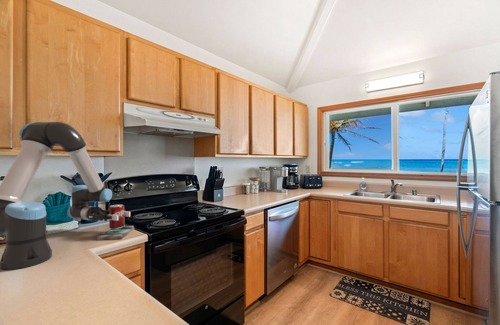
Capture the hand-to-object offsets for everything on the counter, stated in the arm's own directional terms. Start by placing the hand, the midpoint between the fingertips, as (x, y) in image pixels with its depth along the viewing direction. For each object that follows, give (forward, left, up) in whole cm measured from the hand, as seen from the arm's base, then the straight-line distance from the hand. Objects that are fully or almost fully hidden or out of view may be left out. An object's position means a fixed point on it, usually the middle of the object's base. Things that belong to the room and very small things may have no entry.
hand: (123, 215), depth 125 cm
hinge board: (-4, +2, -10) cm, 11 cm away
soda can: (-4, +2, -7) cm, 8 cm away
